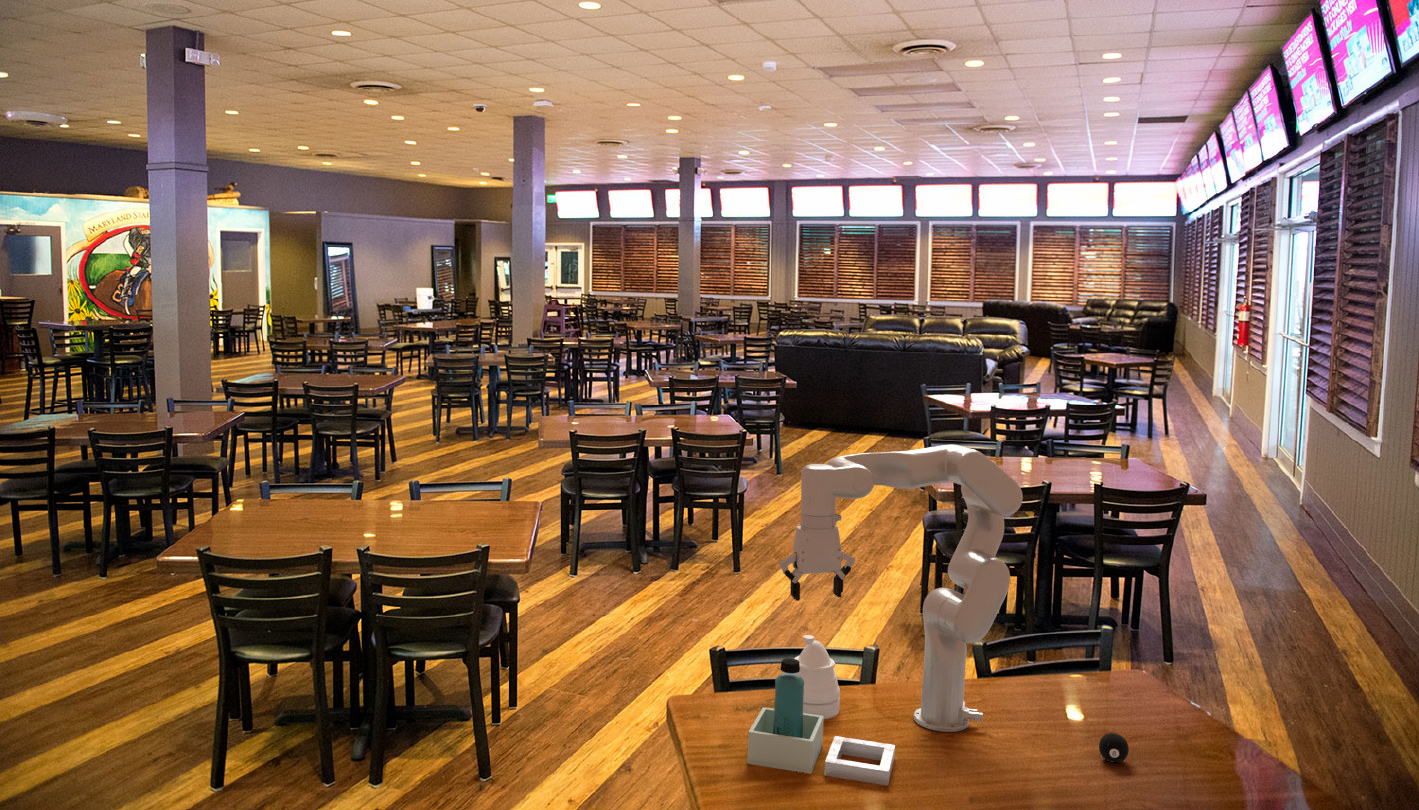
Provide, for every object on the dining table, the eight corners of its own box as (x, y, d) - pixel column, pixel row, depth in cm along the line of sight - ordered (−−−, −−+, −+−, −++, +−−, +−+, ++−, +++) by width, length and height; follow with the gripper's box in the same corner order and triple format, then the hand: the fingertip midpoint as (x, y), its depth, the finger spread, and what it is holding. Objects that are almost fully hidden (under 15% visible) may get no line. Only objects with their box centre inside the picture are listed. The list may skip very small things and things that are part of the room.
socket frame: (894, 758, 220) (895, 745, 220) (887, 785, 208) (888, 771, 207) (834, 749, 224) (834, 736, 223) (824, 775, 211) (825, 761, 211)
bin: (822, 746, 225) (823, 716, 224) (811, 774, 212) (812, 741, 211) (761, 737, 228) (763, 707, 228) (747, 763, 215) (748, 731, 214)
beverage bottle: (808, 750, 220) (812, 660, 218) (789, 760, 215) (793, 668, 213) (784, 740, 225) (788, 652, 222) (765, 750, 220) (769, 660, 218)
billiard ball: (1126, 757, 225) (1128, 731, 224) (1128, 769, 219) (1130, 742, 218) (1097, 753, 227) (1099, 727, 226) (1098, 764, 221) (1100, 737, 220)
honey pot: (806, 723, 237) (809, 648, 235) (774, 703, 248) (778, 631, 246) (850, 713, 243) (853, 640, 241) (817, 694, 254) (821, 624, 252)
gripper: (848, 515, 229) (847, 589, 231) (774, 519, 225) (774, 595, 227) (861, 522, 222) (860, 599, 224) (785, 527, 217) (784, 605, 219)
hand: (816, 597), depth 225 cm, fingers open, 9 cm apart
